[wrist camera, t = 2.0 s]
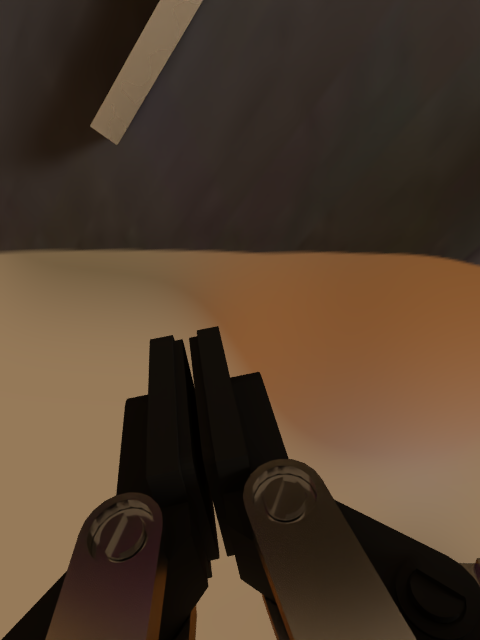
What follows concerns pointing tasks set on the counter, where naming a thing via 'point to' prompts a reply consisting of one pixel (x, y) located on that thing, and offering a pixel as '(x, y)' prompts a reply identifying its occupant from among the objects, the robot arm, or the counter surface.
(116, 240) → the counter surface
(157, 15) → the open leaf
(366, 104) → the counter surface
